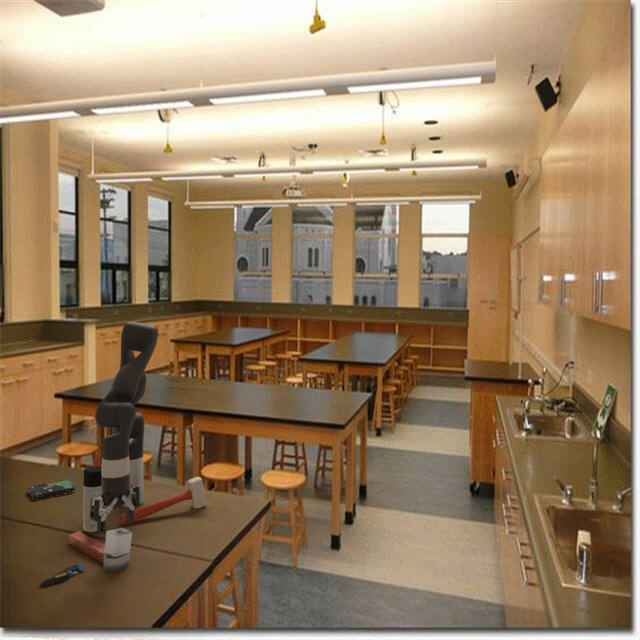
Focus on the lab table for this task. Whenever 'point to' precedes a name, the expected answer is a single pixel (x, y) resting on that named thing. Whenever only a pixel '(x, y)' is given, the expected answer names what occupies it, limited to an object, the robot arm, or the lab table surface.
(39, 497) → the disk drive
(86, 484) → the spray can
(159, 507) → the mallet
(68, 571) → the micrometer
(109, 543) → the cube with square hole
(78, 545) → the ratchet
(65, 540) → the lab table surface
